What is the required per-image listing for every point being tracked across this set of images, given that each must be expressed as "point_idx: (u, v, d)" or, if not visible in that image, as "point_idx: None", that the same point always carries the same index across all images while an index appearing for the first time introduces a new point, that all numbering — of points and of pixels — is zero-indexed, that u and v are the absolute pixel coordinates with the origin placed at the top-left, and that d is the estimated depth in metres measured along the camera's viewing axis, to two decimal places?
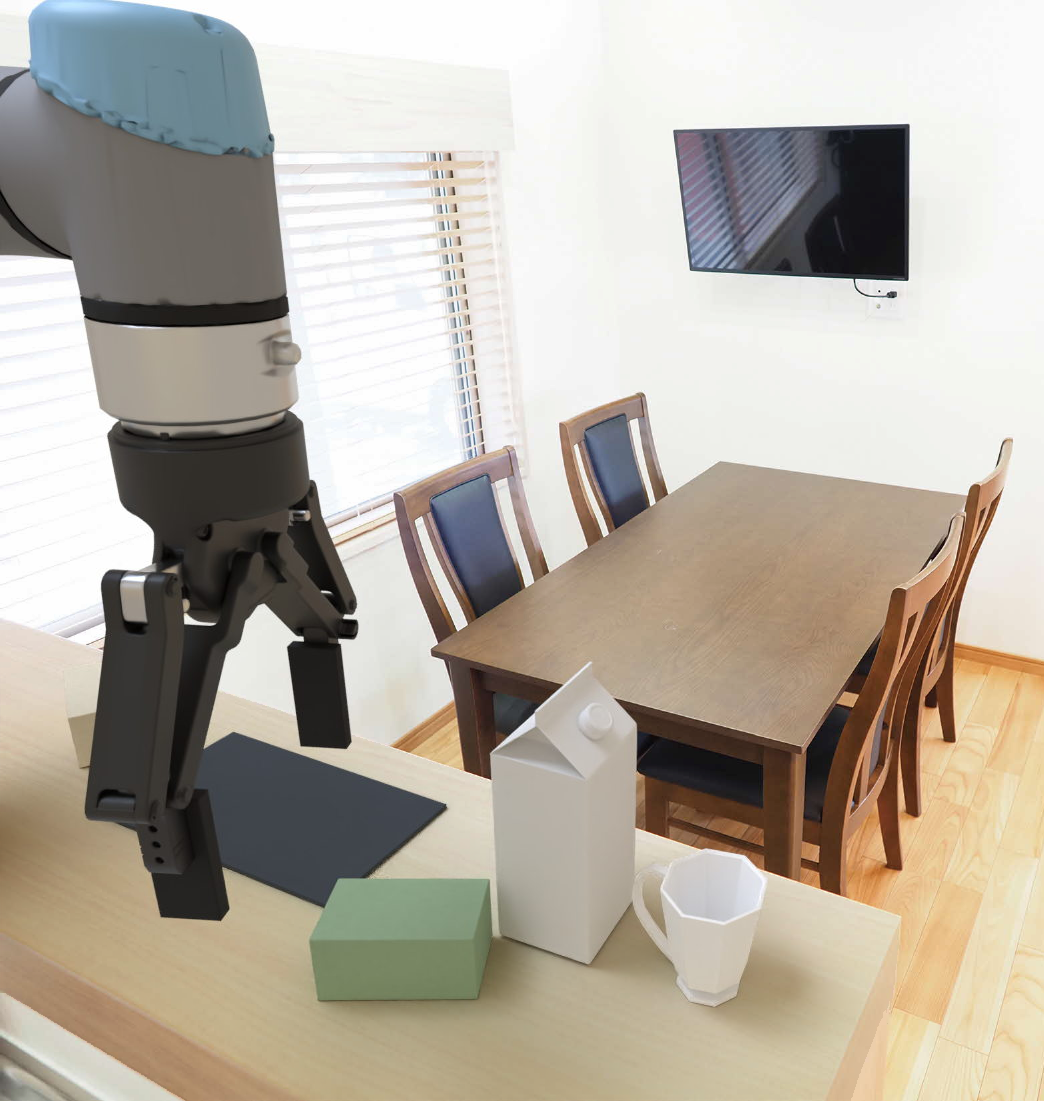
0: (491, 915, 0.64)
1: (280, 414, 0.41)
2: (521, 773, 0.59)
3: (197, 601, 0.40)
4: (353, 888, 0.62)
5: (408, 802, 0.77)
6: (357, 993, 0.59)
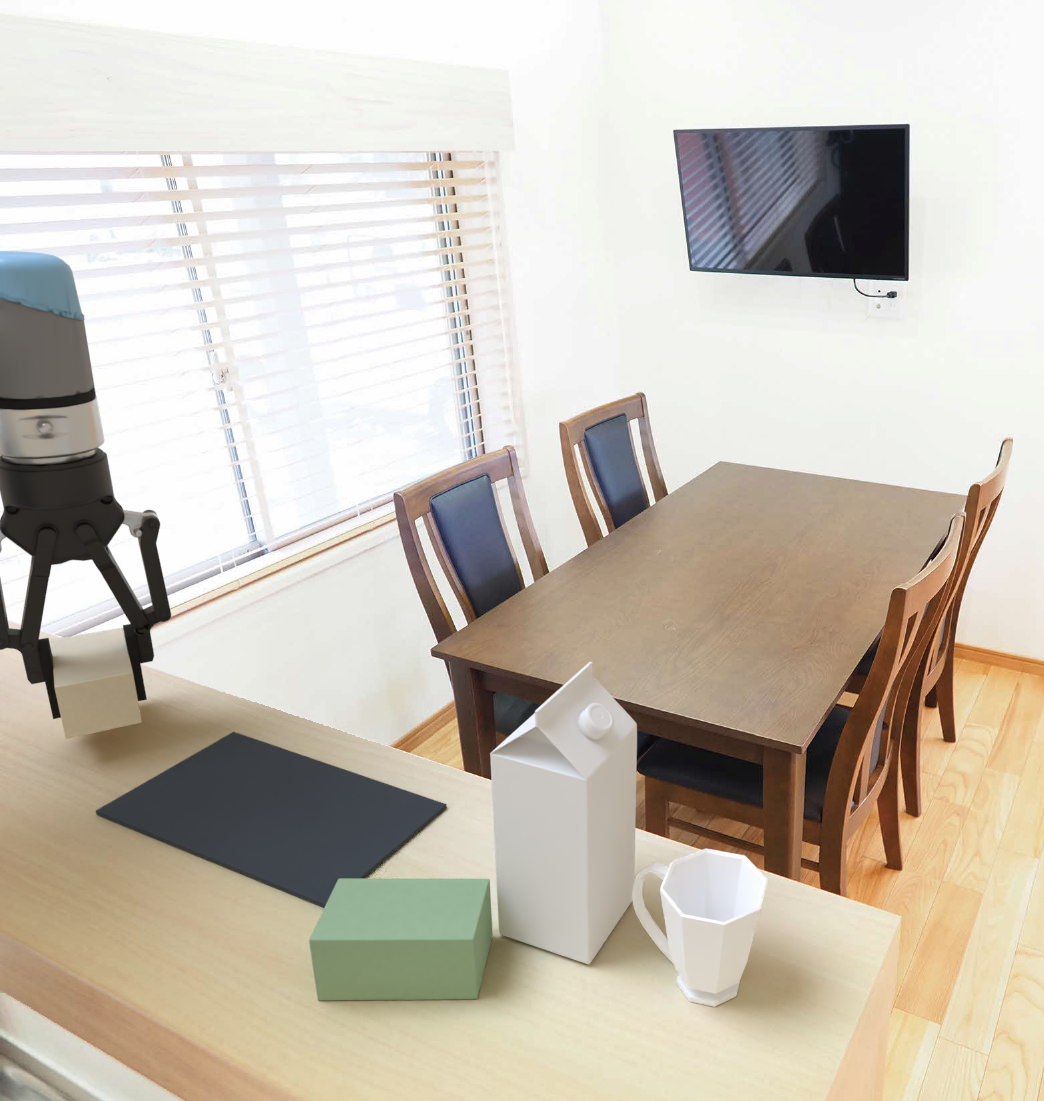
0: (491, 915, 0.64)
1: (56, 459, 0.73)
2: (521, 773, 0.59)
3: None
4: (353, 888, 0.62)
5: (408, 802, 0.77)
6: (357, 993, 0.59)
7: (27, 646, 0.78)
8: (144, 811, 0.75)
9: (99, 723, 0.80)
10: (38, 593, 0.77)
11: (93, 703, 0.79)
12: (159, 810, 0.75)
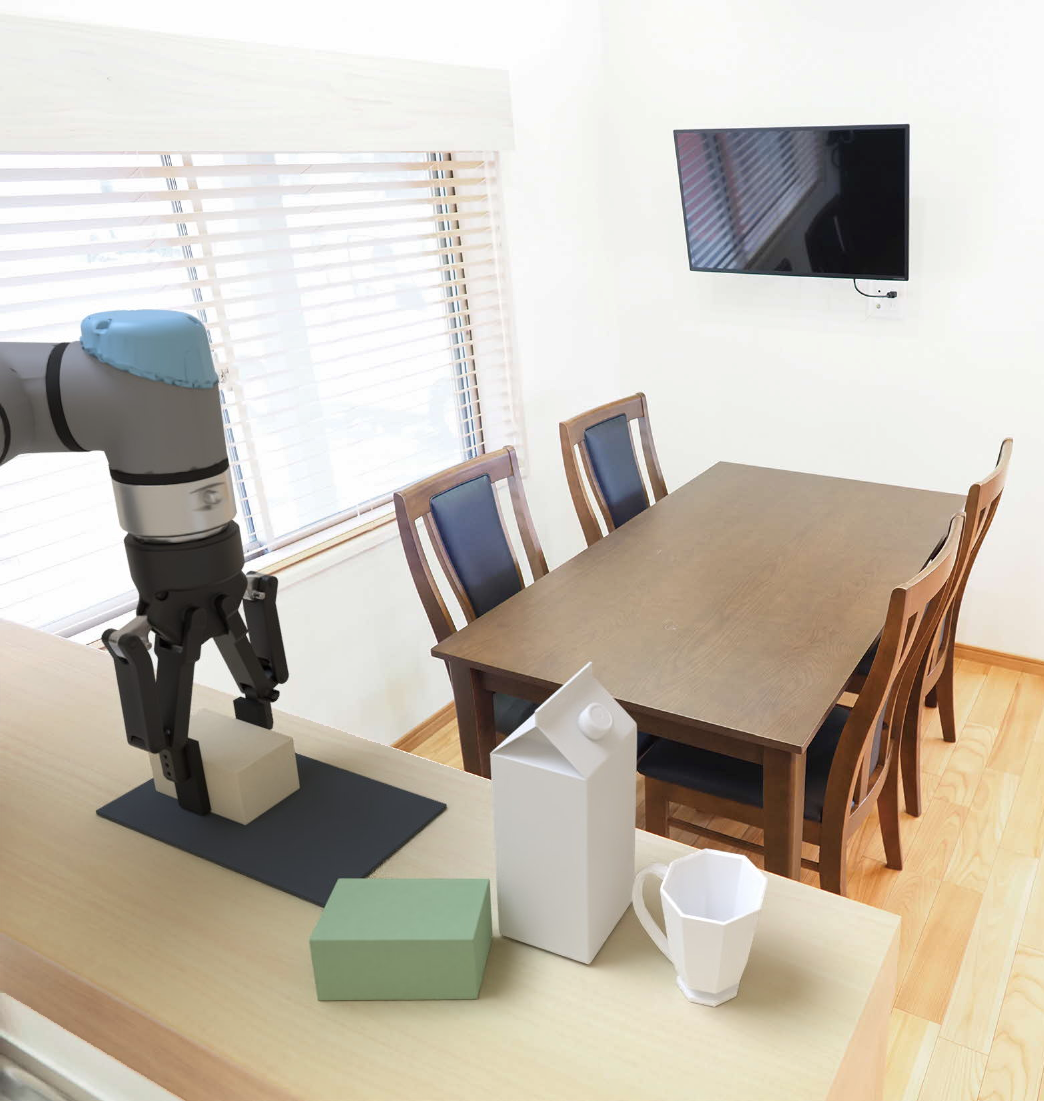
0: (491, 915, 0.64)
1: (215, 530, 0.68)
2: (521, 773, 0.59)
3: None
4: (353, 888, 0.62)
5: (408, 802, 0.77)
6: (357, 993, 0.59)
7: (180, 742, 0.71)
8: (144, 811, 0.75)
9: (270, 799, 0.76)
10: (187, 681, 0.71)
11: (265, 779, 0.75)
12: (159, 810, 0.75)
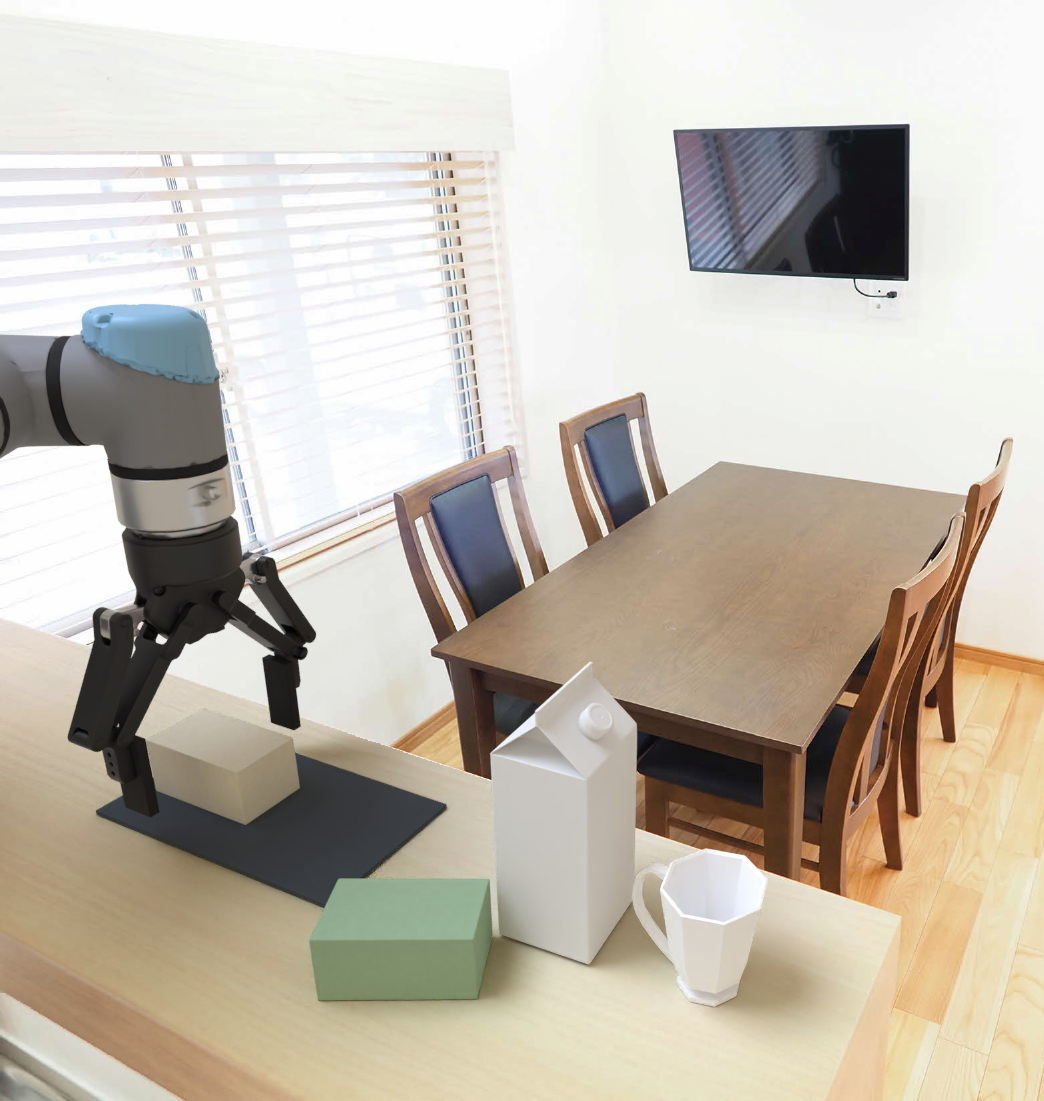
0: (491, 915, 0.64)
1: (214, 526, 0.68)
2: (521, 773, 0.59)
3: None
4: (353, 888, 0.62)
5: (408, 802, 0.77)
6: (357, 993, 0.59)
7: (125, 739, 0.67)
8: None
9: (270, 799, 0.76)
10: (157, 677, 0.68)
11: (265, 779, 0.75)
12: (159, 810, 0.75)
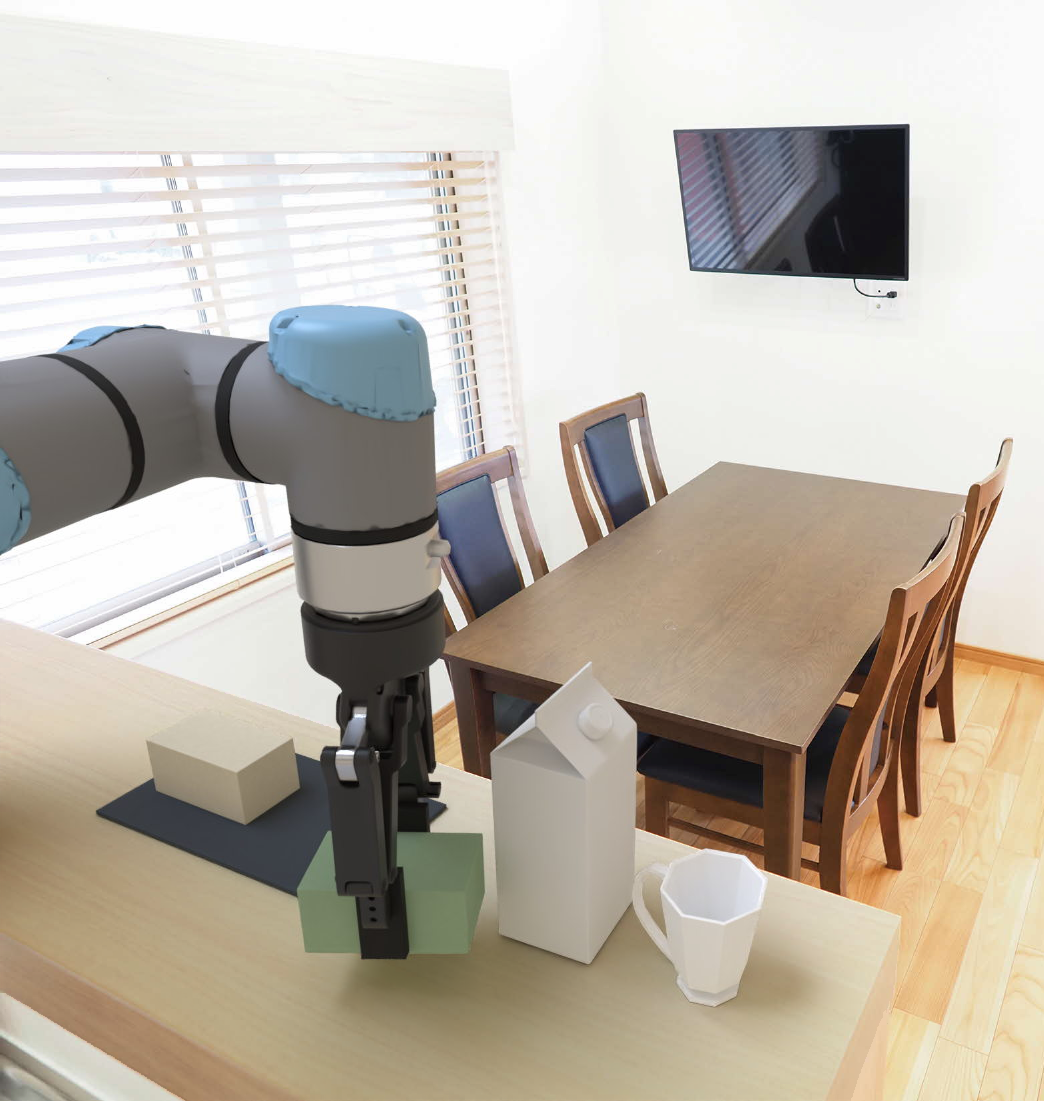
0: (483, 871, 0.63)
1: None
2: (521, 773, 0.59)
3: (368, 738, 0.52)
4: None
5: None
6: (345, 946, 0.58)
7: (395, 873, 0.54)
8: (144, 811, 0.75)
9: (270, 799, 0.76)
10: (395, 794, 0.54)
11: (265, 779, 0.75)
12: (159, 810, 0.75)
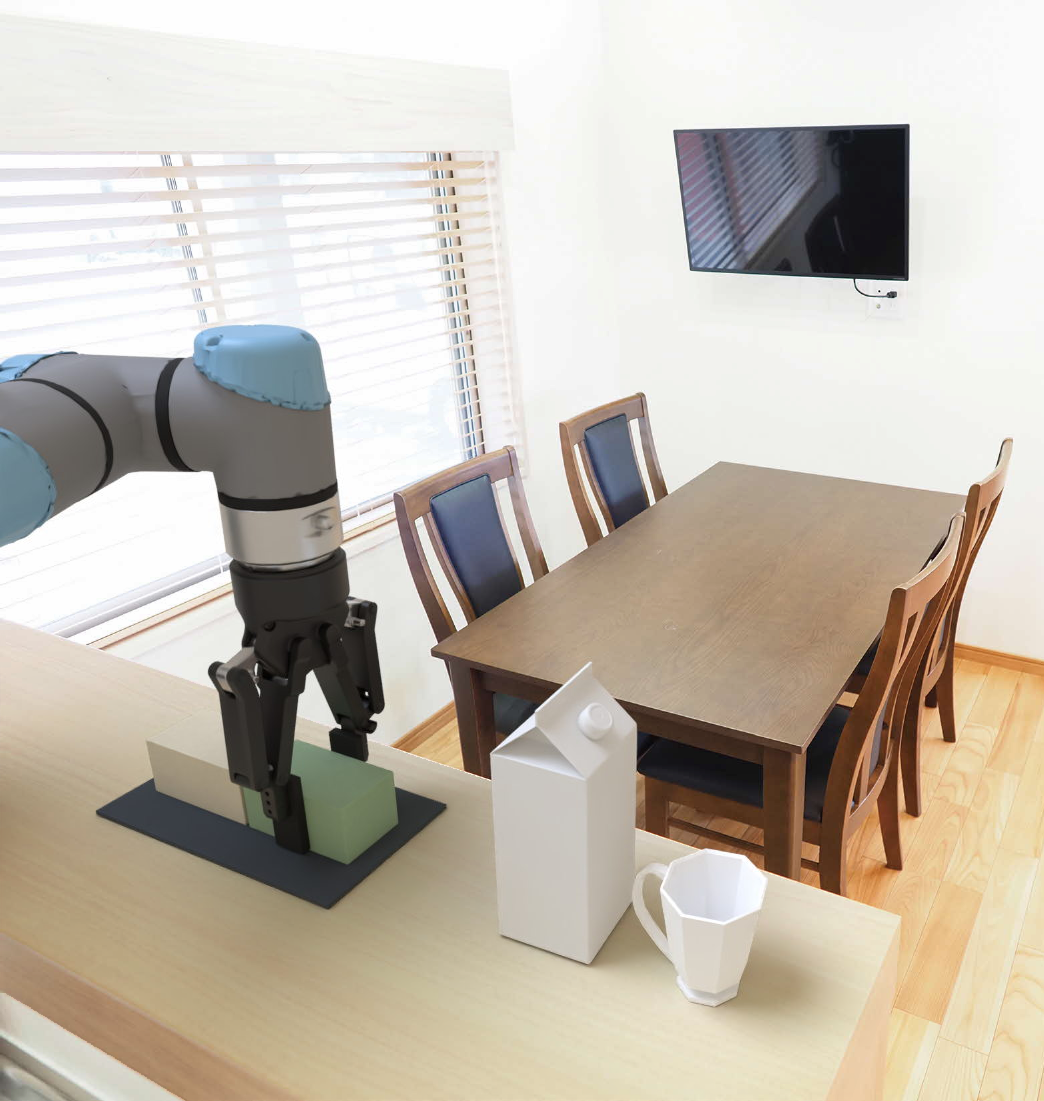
0: (395, 804, 0.74)
1: (324, 556, 0.65)
2: (521, 773, 0.59)
3: None
4: (299, 748, 0.75)
5: (408, 802, 0.77)
6: (272, 830, 0.72)
7: (283, 779, 0.67)
8: (144, 811, 0.75)
9: None
10: (291, 715, 0.67)
11: None
12: (159, 810, 0.75)
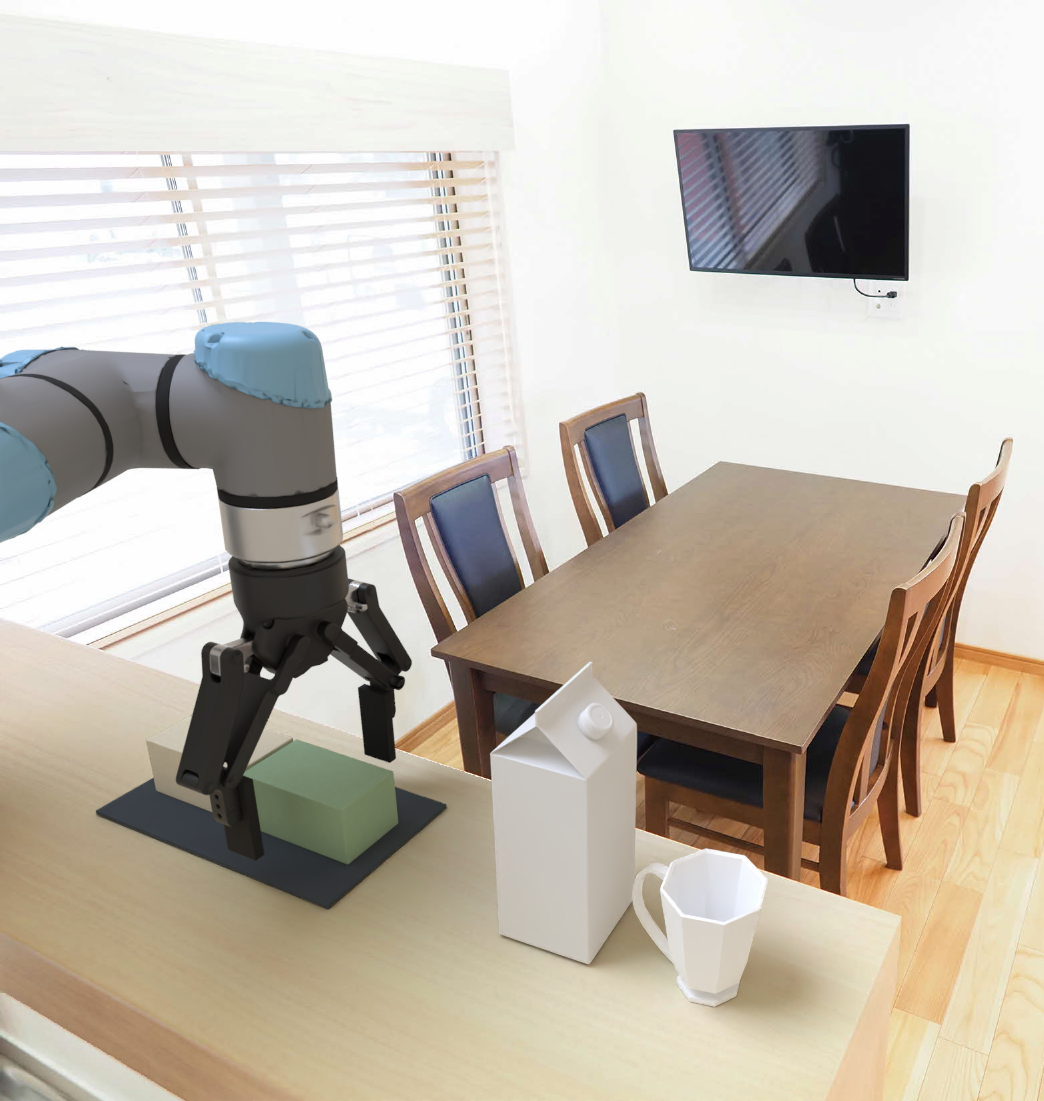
0: (395, 804, 0.74)
1: (324, 554, 0.65)
2: (521, 773, 0.59)
3: None
4: (299, 748, 0.75)
5: (408, 802, 0.77)
6: (272, 830, 0.72)
7: (234, 780, 0.63)
8: (144, 811, 0.75)
9: None
10: (264, 714, 0.65)
11: None
12: (159, 810, 0.75)
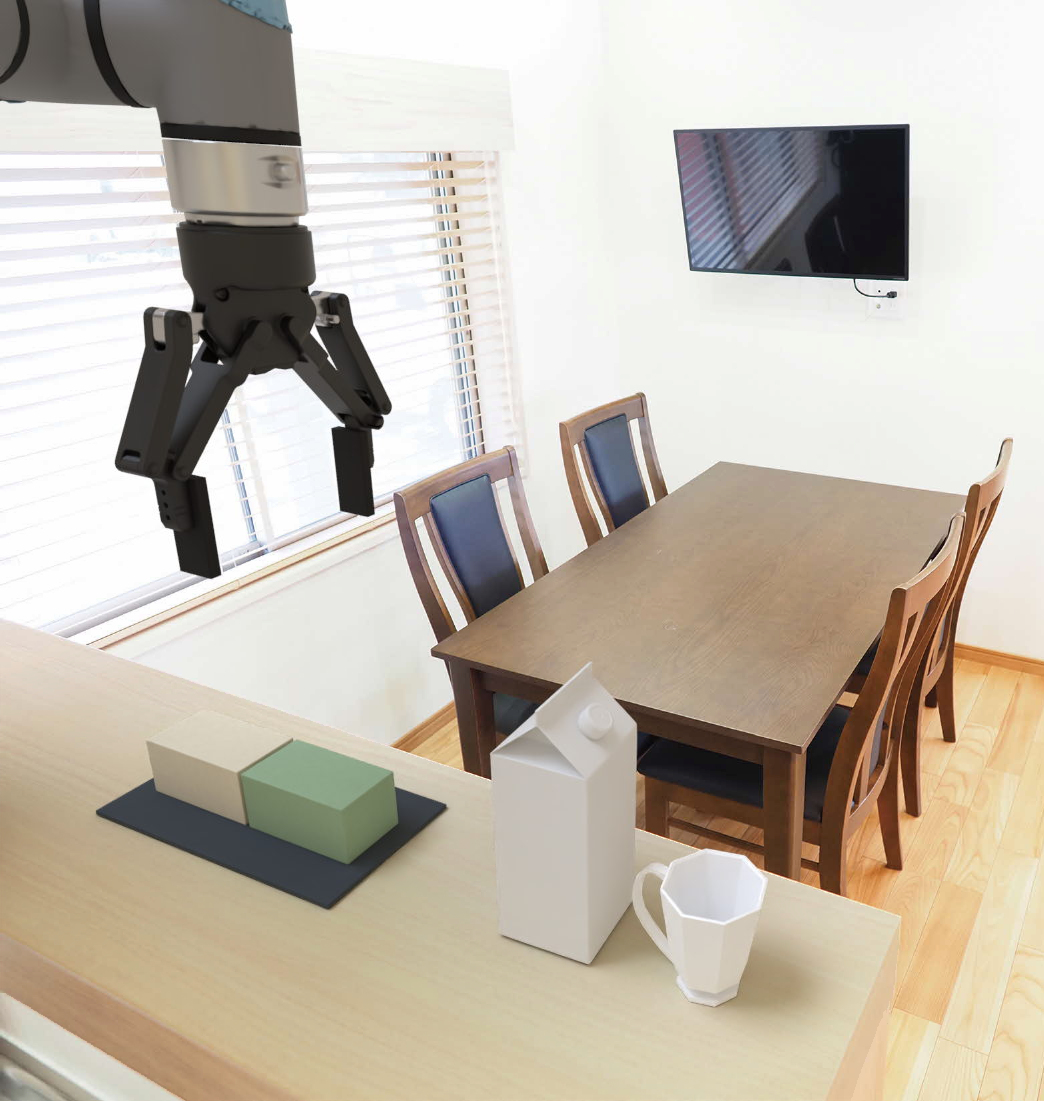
0: (395, 804, 0.74)
1: (285, 220, 0.57)
2: (521, 773, 0.59)
3: (221, 349, 0.58)
4: (299, 748, 0.75)
5: (408, 802, 0.77)
6: (272, 830, 0.72)
7: (183, 471, 0.55)
8: (144, 811, 0.75)
9: None
10: (219, 403, 0.57)
11: None
12: (159, 810, 0.75)
